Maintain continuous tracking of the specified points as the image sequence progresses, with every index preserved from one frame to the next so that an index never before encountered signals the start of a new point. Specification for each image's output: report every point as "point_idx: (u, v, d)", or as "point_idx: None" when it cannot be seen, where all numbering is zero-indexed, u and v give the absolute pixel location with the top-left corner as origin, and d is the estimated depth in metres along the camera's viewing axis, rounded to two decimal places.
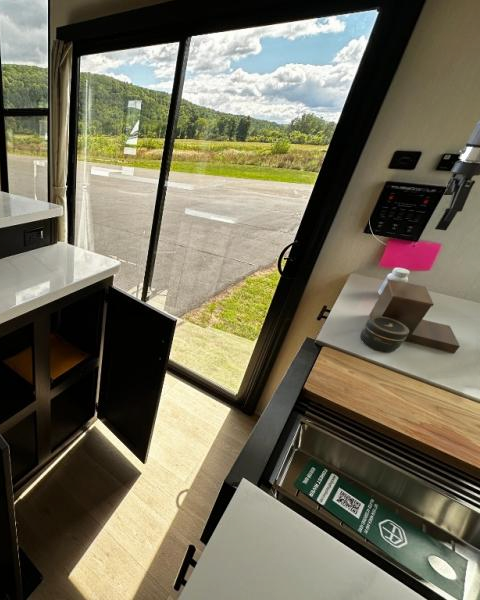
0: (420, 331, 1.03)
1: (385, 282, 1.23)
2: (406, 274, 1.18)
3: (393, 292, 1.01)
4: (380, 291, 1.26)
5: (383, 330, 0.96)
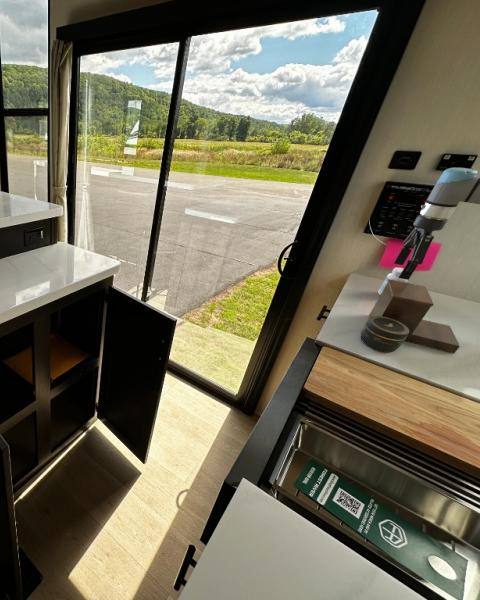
0: (420, 331, 1.03)
1: (385, 282, 1.23)
2: None
3: (393, 292, 1.01)
4: (380, 291, 1.26)
5: (383, 330, 0.96)
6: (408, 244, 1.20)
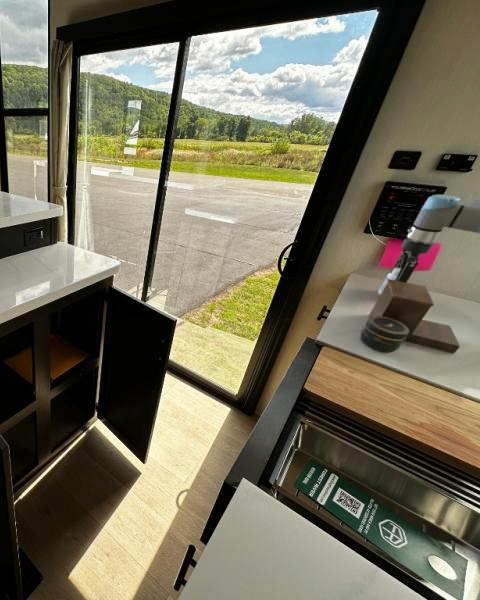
0: (420, 331, 1.03)
1: (385, 282, 1.23)
2: None
3: (393, 292, 1.01)
4: (380, 291, 1.26)
5: (383, 330, 0.96)
6: None
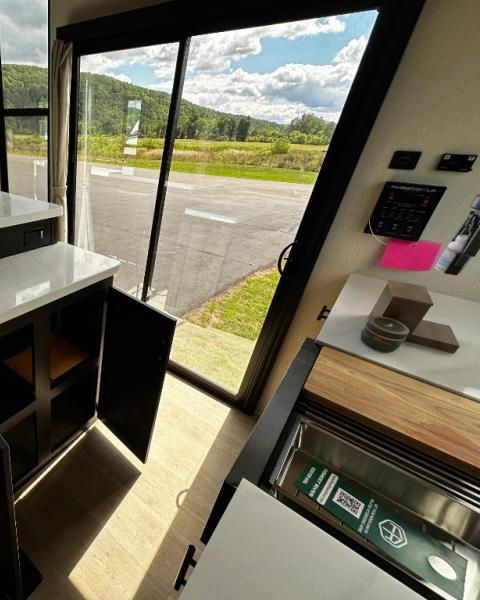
0: (420, 331, 1.03)
1: (446, 253, 0.98)
2: None
3: (393, 292, 1.01)
4: (438, 265, 1.00)
5: (383, 330, 0.96)
6: None
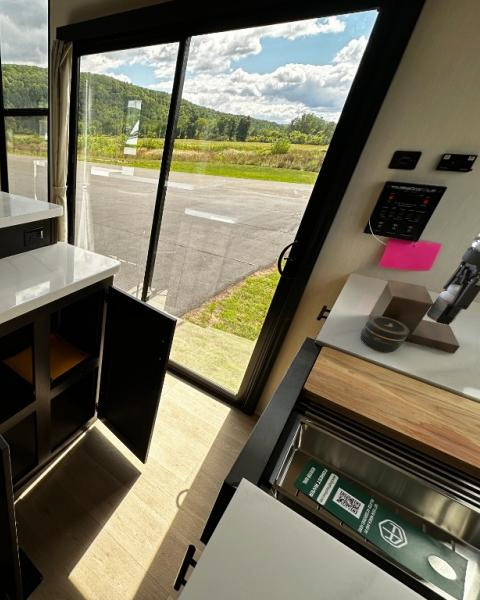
0: (420, 331, 1.03)
1: (438, 302, 0.98)
2: None
3: (393, 292, 1.01)
4: (430, 313, 1.00)
5: (383, 330, 0.96)
6: None
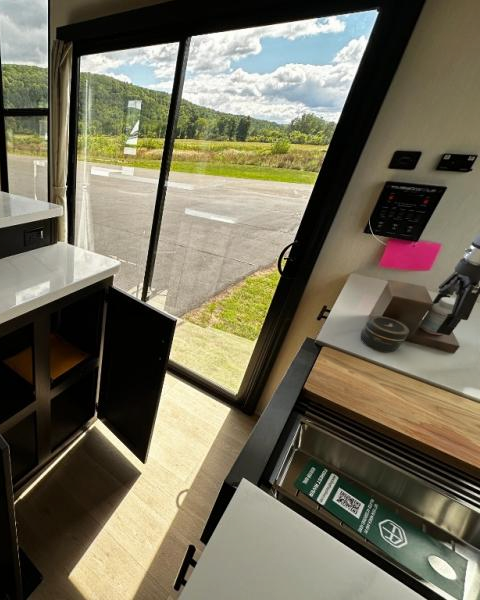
0: (420, 331, 1.03)
1: (429, 314, 1.00)
2: None
3: (393, 292, 1.01)
4: (422, 325, 1.03)
5: (383, 330, 0.96)
6: (446, 290, 1.01)
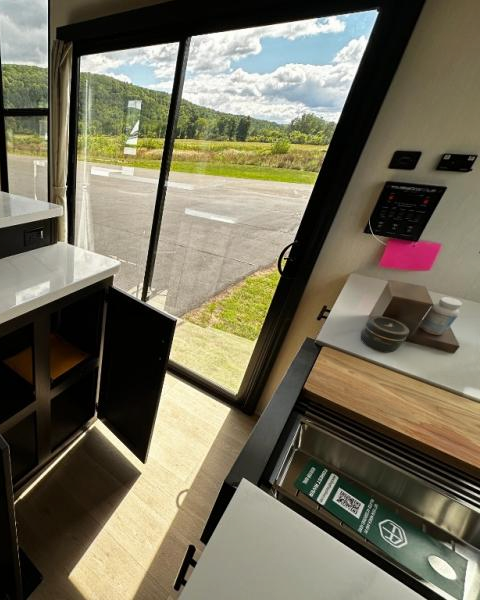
0: (420, 331, 1.03)
1: (429, 314, 1.00)
2: (458, 306, 0.95)
3: (393, 292, 1.01)
4: (422, 325, 1.03)
5: (383, 330, 0.96)
6: None
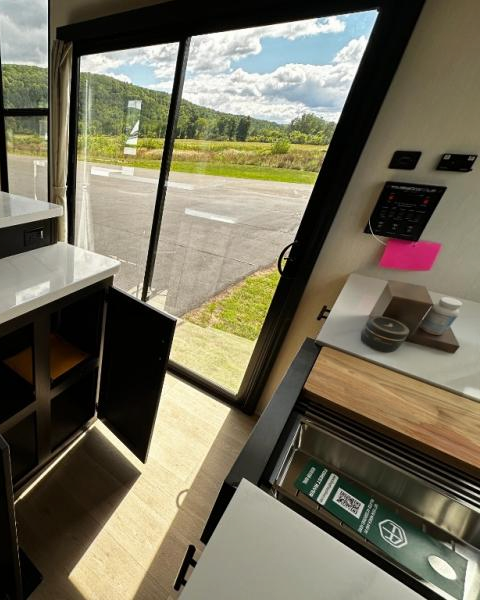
0: (420, 331, 1.03)
1: (429, 314, 1.00)
2: (458, 306, 0.95)
3: (393, 292, 1.01)
4: (422, 325, 1.03)
5: (383, 330, 0.96)
6: None
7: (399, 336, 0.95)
